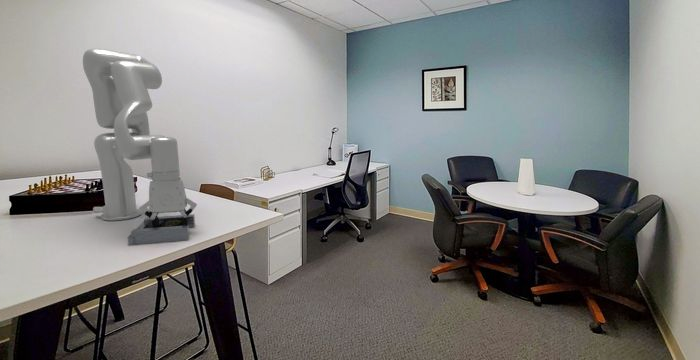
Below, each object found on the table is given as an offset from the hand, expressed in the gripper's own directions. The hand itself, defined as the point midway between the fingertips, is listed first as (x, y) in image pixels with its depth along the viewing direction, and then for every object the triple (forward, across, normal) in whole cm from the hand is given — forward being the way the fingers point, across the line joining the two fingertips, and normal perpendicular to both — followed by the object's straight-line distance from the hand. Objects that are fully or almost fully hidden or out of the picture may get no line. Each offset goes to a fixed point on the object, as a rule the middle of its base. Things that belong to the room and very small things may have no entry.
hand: (170, 229), depth 105 cm
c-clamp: (+2, -2, +1) cm, 3 cm away
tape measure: (+2, 0, -1) cm, 2 cm away
